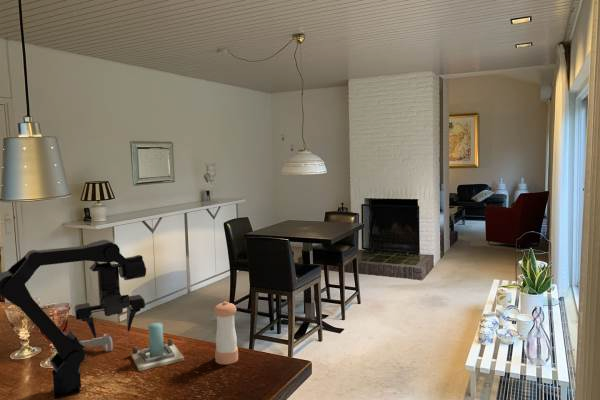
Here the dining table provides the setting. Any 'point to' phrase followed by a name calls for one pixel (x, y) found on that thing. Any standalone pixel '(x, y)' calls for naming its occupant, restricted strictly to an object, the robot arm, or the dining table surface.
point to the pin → (156, 339)
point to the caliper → (100, 342)
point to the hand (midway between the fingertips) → (111, 334)
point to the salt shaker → (226, 334)
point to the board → (147, 362)
